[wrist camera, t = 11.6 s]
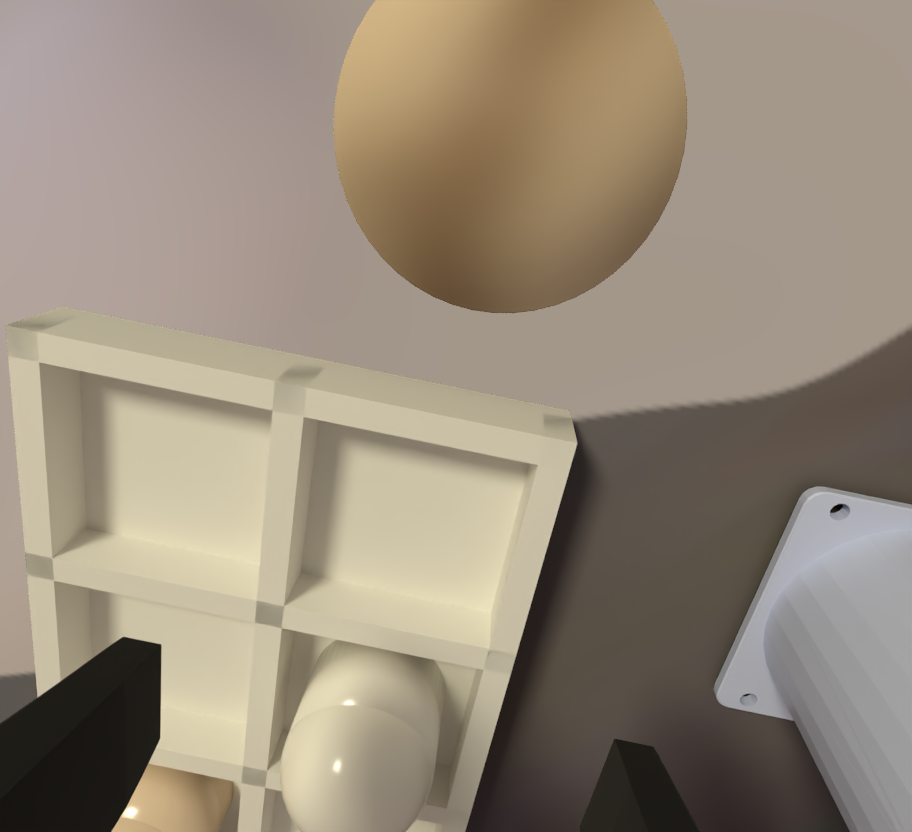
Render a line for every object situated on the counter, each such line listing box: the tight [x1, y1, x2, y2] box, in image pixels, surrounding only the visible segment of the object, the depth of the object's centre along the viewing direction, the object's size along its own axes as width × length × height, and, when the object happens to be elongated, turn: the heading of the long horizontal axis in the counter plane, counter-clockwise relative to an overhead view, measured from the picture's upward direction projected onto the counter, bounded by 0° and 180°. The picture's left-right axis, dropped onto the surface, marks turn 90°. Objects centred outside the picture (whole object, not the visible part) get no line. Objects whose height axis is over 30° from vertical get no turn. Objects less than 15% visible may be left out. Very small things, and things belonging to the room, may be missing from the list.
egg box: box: [6, 306, 577, 832], centre depth 21 cm, size 14×21×2 cm
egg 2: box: [280, 640, 445, 832], centre depth 19 cm, size 4×4×5 cm
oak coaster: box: [333, 0, 687, 313], centre depth 15 cm, size 8×8×1 cm
